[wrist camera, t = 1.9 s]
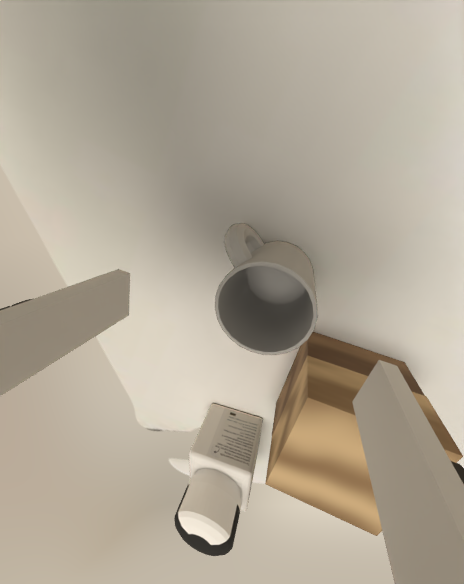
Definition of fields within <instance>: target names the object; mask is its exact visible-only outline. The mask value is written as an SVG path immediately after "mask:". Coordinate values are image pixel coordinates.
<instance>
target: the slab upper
mask: <svg viewBox="0 0 464 584" xmlns="http://www.w3.org/2000/svg"><path fill="white" fill-rule="evenodd" d="M367 378H368V376H366V375H363V374H360V373H357V372H354V371H351V370H348V369H345V368H343V367H340V366H337V365H334V364H331V363H328V362H325V361H322V360H319V359H317V358H314V357H311V356H308V355H307V357H306V359H305V362H304V364H303V366H302V369H301V371H300V373H299V375H298V378H297V380H296V382H295V385H294V387H293V389H292V391H291V394H290V396H289V398H288V401H287V403H286V405H285V407H284V410H283V412H282V414H281V417H280V419H279V421H278V423H277V426H276V428H275V430H274V433H273V435H272V441H271V448H270V455H269V462H268V469H267V477H266V485H269V486H271V487H273V488H275V489H277V490H279V491H281V492H284V493H286V494H288V495H290V496H292V497H294V498H296V499H299V500H301V501H303V502H305V503H307V504H309V505H311V506H313V507H316V508H318V509H320V510H322V511H325V512H326V513H329V514H331V515H333V516H335V517H337V518H340V519H341V520H344V521H346V522H348V523H350V524H352V525H354V526H356V527H358V528H361V529H363V530H365V531H367V532H369V533H371V534H373V535H376V536H377V535H378V534H379V533H380V532H381V531H382V527H381V523H380V518H379V514H378V510H377V505H376V501H375V497H374V493H373V488H372V484H371V480H370V475H369V471H368V467H367V462H366V458H365V454H364V450H363V445H362V441H361V437H360V432H359V428H358V424H357V420H356V415H355V411H354V407H353V402H352V401H353V400H354V398H355V397H356V395H357V393H358V392H359V390H360V389H361V387H362V386H363V384H364V382H365V381H366V379H367ZM412 393H413V395H414V397H415V399H416V400H417V402H418V404H419V406H420V407H421V409H422V411H423V413H424V415H425V416H426V418H427V420H428V422H429V423H430V425H431V427H432V429H433V431H434V432H435V434H436V436H437V438H438V440H439V441H440V443H441V445H442V447H443V448H444V450H445V452H446V454H447V456H448V457H449V459H450V461H453V462H455V463H457V462H458V461H459V460H460V459H461V458H462V457H463V455H462V454H461V452H460V450H459V449H458V447H457V446H456V444H455V442H454V441H453V439H452V437H451V436H450V434H449V433H448V431H447V429H446V428H445V426H444V424H443V423H442V421H441V419H440V418H439V416H438V415H437V413H436V411H435V410H434V408H433V406H432V405H431V403H430V402H429V400H428V398H427V397H426V396H424V395H421V394H418V393H415V392H412Z"/></svg>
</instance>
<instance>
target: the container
mask: <svg viewBox="0 0 464 584" xmlns="http://www.w3.org/2000/svg"><path fill="white" fill-rule="evenodd" d="M261 427H262V419H261V418H260V417H257V416H253V415H250V414H247V413H244V412H240V411H237V410H234V409H230V408H227V407H224V406H220V405H217V404H211V406H210V408H209V411H208V413H207V415H206V417H205V419H204V421H203V424H202V426H201V428H200V430H199V432H198V434H197V437H196V439H195V441H194V443H193V445H192V447H191V450H190V452H189V466H190V481H189V483H188V486H187V488H186V490H185V493H184V495H183V498H182V500H181V503H180V505H179V507H178V510H177V512H176V515H175V526H176V529H177V531H178V532H179V534H180V535H181V537H182V538H183V540H184V541H185V542H186V543H187V544H189V545H190V546H191V547H193V548H194V549H196V550H197V551H199V552H202V553H204V554H207V555H211V556H219V555H225V554H227V553H228V552H229V551H230V550H231V549H232V547H233V542H234V538H235V533H236V528H237V523H238V519H239V514H240V510H241V511H243V512H244V511H246V509H247V505H248V500H249V495H250V490H251V484H252V479H253V474H254V469H255V464H256V458H257V453H258V447H259V440H260V434H261Z"/></svg>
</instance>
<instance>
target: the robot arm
mask: <svg viewBox="0 0 464 584" xmlns="http://www.w3.org/2000/svg"><path fill="white" fill-rule="evenodd" d="M129 292H130V273H128V272H125V271H122V270H119V269H118V270H115V271H112V272H109V273H106V274H103V275H100V276H98V277H95V278H92V279H89V280H86V281H83V282H80V283H78V284H75V285H72V286H69V287H66V288H64V289H61V290H58V291H55V292H52V293H49V294H46V295H43V296H41V297H38V298H35V299H29V300H25V301H22V302H19V303H16V304H14V305H12V306H11V307H10V306H8V307H5V308H2V309H0V396H1V395H3V394H4V393H6V392H8V391H9V390H11V389H12V388H14V387H15V386H17V385H19V384H20V383H22V382H23V381H25V380H27V379H28V378H30V377H31V376H33V375H34V374H36V373H37V372H39V371H41V370H43V369H44V368H45V367H47V366H49V365H50V364H52V363H54V362H55V361H57V360H58V359H60V358H62V357H63V356H65V355H66V354H68V353H69V352H71V351H73V350H74V349H76V348H77V347H79V346H81V345H82V344H84V343H85V342H87V341H88V340H90V339H92V338H93V337H95V336H96V335H98V334H100V333H101V332H103V331H104V330H106V329H108V328H109V327H111V326H112V325H114V324H116V323H117V322H119V321H120V320H122V319H123V318H125V317H127V316H128V315H129ZM352 402H353V407H354V411H355V415H356V420H357V424H358V428H359V432H360V437H361V441H362V445H363V450H364V454H365V458H366V462H367V467H368V471H369V475H370V480H371V484H372V488H373V493H374V497H375V501H376V505H377V510H378V514H379V518H380V523H381V527H382V531H383V535H384V539H385V544H386V548H387V552H388V557H389V561H390V565H391V570H392V574H393V578H394V582H395V584H464V468H463V467H462V466H461V465H460V464H458V463H455V462H453V461H450V459H449V457H448V456H447V454H446V452H445V450H444V448H443V447H442V445H441V443H440V441H439V440H438V438H437V436H436V434H435V432H434V431H433V429H432V427H431V425H430V423H429V422H428V420H427V418H426V416H425V415H424V413H423V411H422V409H421V407H420V406H419V404H418V402H417V400H416V399H415V397H414V395H413V393H412V391H411V390H410V388H409V386H408V384H407V382H406V381H405V379H404V377H403V375H402V374H401V372H400V370H399V368H398V366H396V365H393V364H390V363H387V362H384V361H381V360H378V362H377V364H376V365H375V367H374V368H373V370H372V371H371V373H370V375H369V376H368V378H367V379H366V381H365V382H364V384H363V386H362V387H361V389H360V390H359V392H358V393H357V395H356V397H355V398H354V400H353V401H352Z"/></svg>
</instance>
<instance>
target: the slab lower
mask: <svg viewBox="0 0 464 584" xmlns="http://www.w3.org/2000/svg"><path fill="white" fill-rule="evenodd" d="M307 355H308V356H311V357H314V358H317V359H319V360H322V361H325V362H328V363H331V364H334V365H337V366H340V367H343V368H345V369H348V370H351V371H354V372H357V373H360V374H363V375H366V376H369V375H370V373H371V371H372V370H373V368H374V367H375V365H376V364H377V362H378V360H381V361H384V362H387V363H390V364H393V365H396V366H398V368H399V370H400V372H401V374H402V375H403V377H404V379H405V381H406V382H407V384H408V386H409V388H410V390H411V391H412V392H415V393H418V394H421V395H424V394H423V392H422V390H421V389H420V387H419V385H418V384H417V382H416V380H415V379H414V377H413V376H412V374H411V372H410V371H409V369H408V367H407V366H406V364H405V362H402V361H399V360H396V359H393V358H390V357H387V356H384V355H381V354H378V353H375V352H372V351H369V350H366V349H363V348H360V347H357V346H354V345H351V344H348V343H345V342H342V341H339V340H336V339H333V338H330V337H327V336H324V335H321V334H318V333H315V332H312V334H311V335H310V337H309V338H308V340H307V341H305V342H304V343H303V344H302V345H301V346H300V349H299V351H298V353H297V356H296V358H295V360H294V363H293V365H292V367H291V370H290V372H289V374H288V377H287V379H286V382H285V384H284V386H283V389H282V391H281V393H280V396H279V398H278V400H277V403H276V409H275V416H274V423H273V430H272V435H273V433H274V430H275V428H276V426H277V423H278V421H279V419H280V417H281V414H282V412H283V410H284V407H285V405H286V403H287V401H288V398H289V396H290V394H291V391H292V389H293V387H294V385H295V382H296V380H297V378H298V375H299V373H300V371H301V369H302V366H303V364H304V362H305V359H306V357H307ZM424 396H425V395H424Z"/></svg>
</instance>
